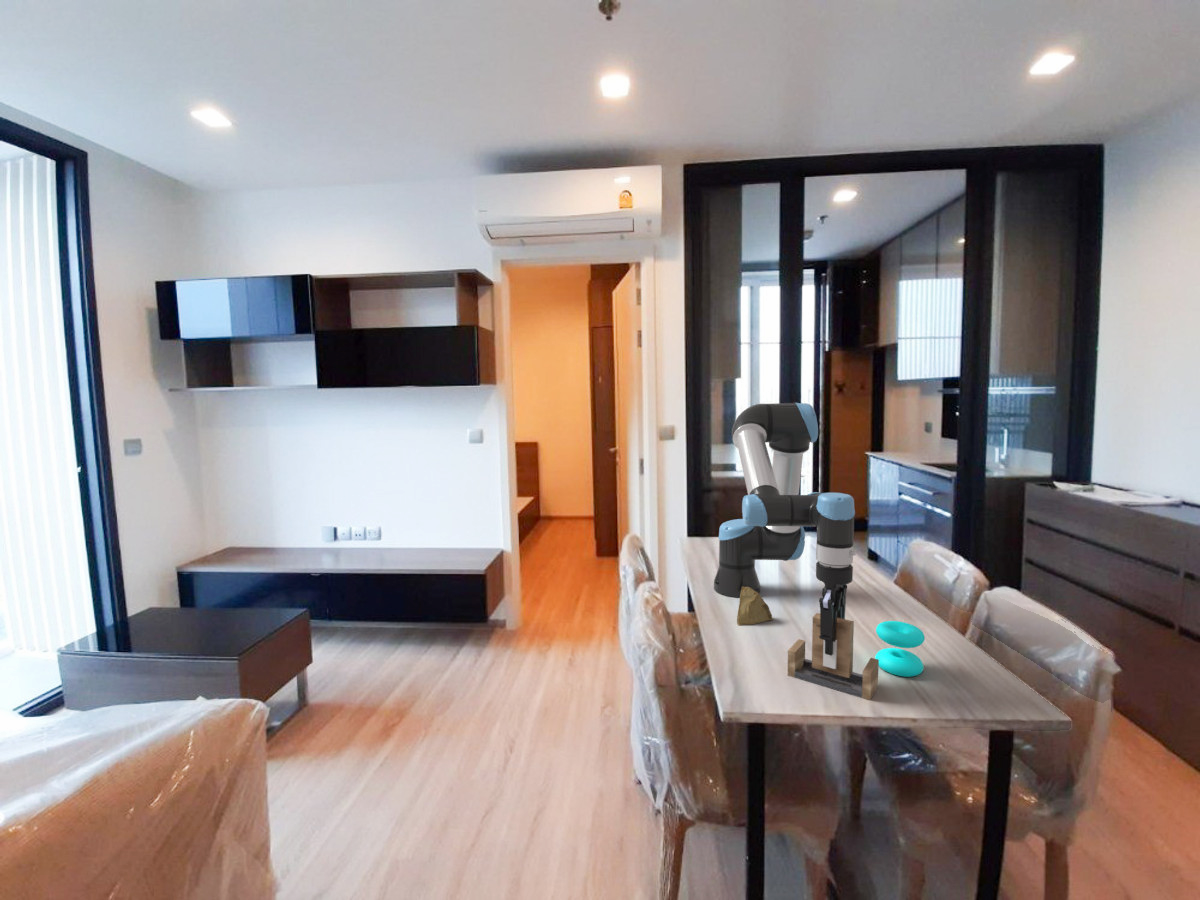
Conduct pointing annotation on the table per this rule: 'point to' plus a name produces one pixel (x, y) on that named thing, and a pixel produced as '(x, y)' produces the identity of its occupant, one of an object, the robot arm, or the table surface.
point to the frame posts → (869, 673)
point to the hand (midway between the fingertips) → (832, 663)
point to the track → (831, 679)
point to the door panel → (843, 647)
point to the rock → (752, 608)
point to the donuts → (898, 658)
